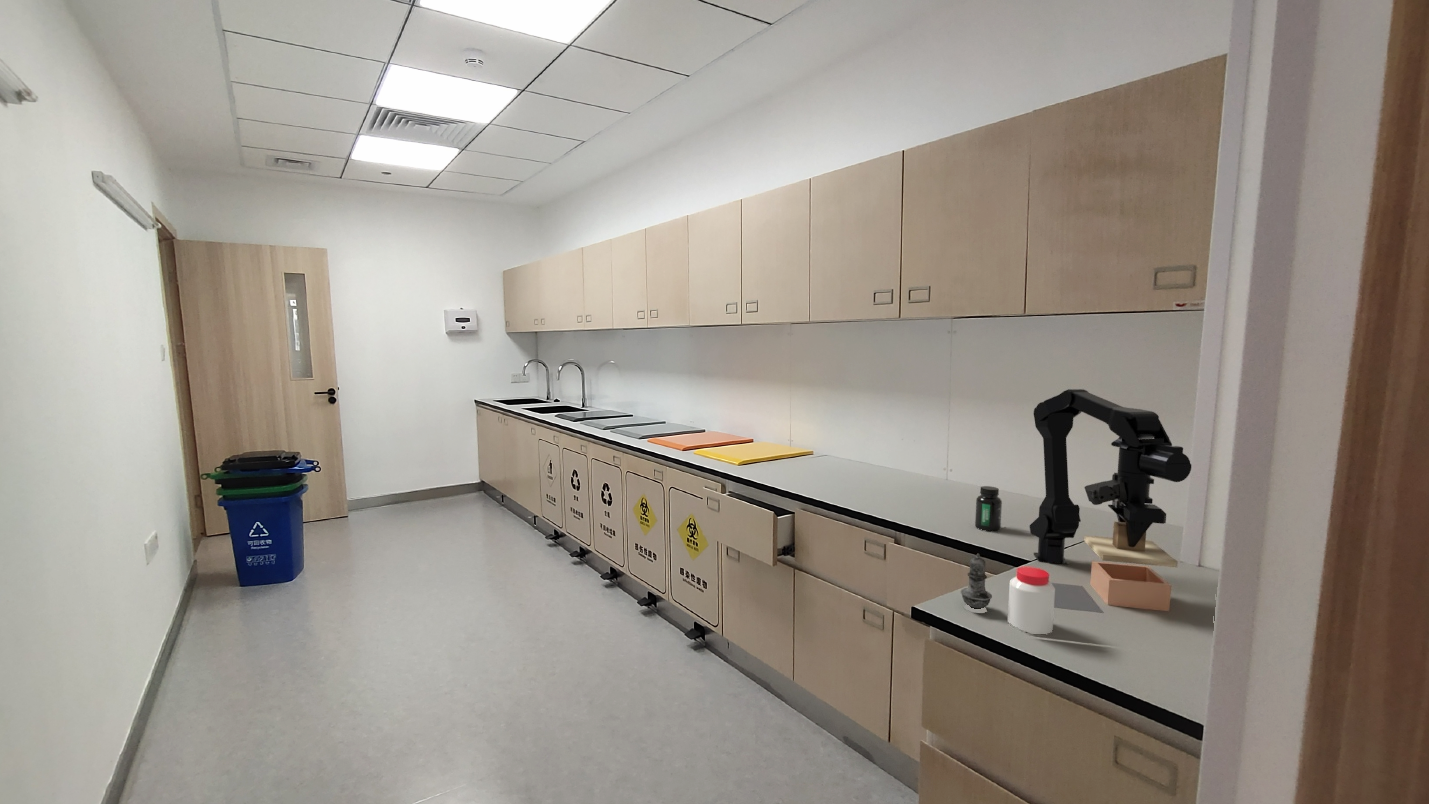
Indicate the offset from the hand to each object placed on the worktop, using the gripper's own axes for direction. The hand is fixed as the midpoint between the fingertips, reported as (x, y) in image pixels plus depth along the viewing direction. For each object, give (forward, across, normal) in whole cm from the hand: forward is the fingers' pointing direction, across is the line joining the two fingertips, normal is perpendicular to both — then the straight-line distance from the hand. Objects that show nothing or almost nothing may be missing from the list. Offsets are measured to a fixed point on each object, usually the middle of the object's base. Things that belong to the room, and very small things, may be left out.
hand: (1128, 543), depth 130 cm
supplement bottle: (+12, -45, -21) cm, 51 cm away
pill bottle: (+12, +20, -22) cm, 32 cm away
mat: (+12, +3, -14) cm, 19 cm away
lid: (+2, 0, 0) cm, 2 cm away
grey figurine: (+12, +15, -31) cm, 37 cm away
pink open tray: (+12, 0, +1) cm, 12 cm away
